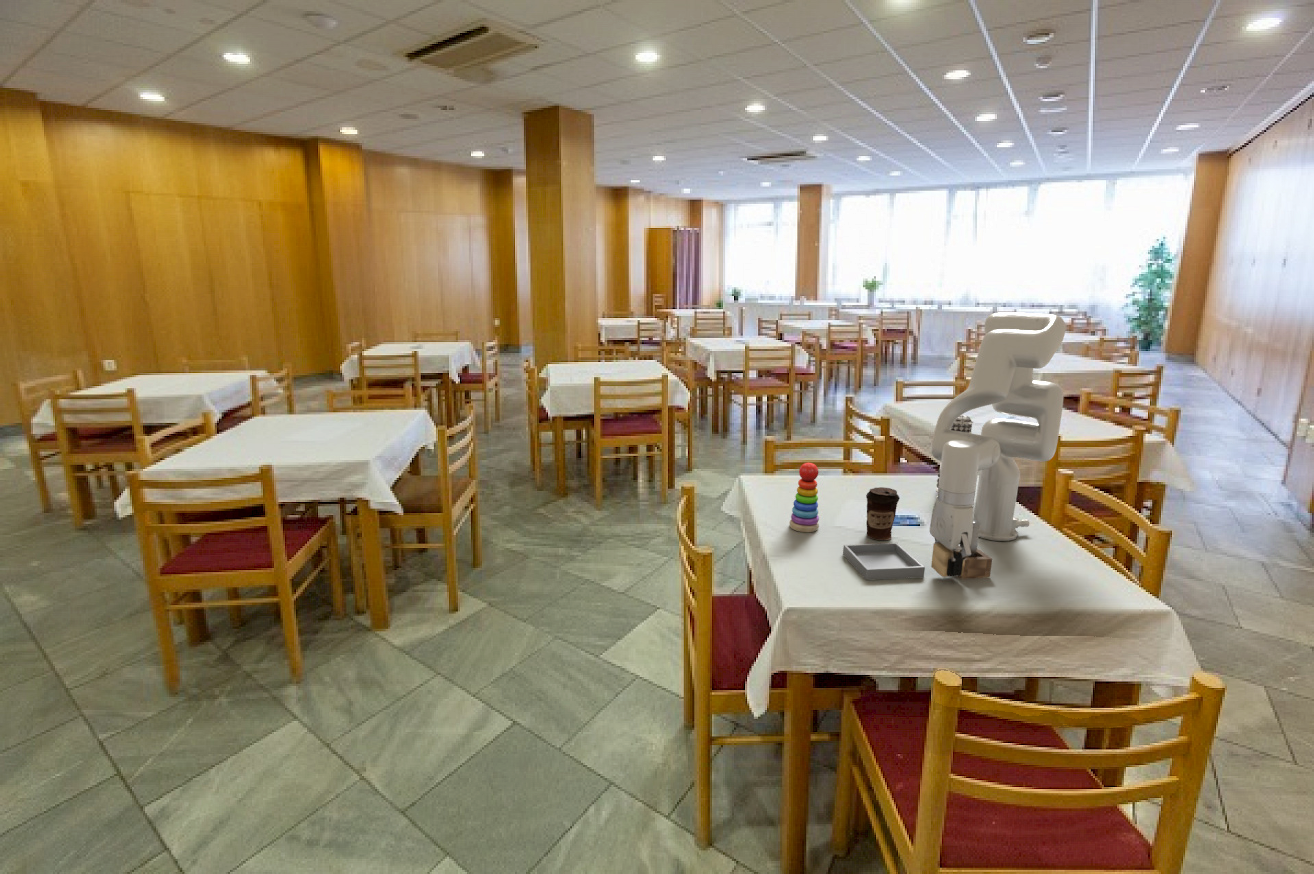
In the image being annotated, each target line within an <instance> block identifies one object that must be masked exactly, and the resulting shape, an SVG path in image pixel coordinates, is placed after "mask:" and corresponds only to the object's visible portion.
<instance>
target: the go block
mask: <svg viewBox="0 0 1314 874" xmlns="http://www.w3.org/2000/svg"><path fill="white" fill-rule="evenodd" d="M992 564H993V558H992V557H991V556H989V555H988V554H987V553H985V552H983V551H982V550H981V549H979V548H978V547H977V551H976V557H967V558H965V565H964V573H963V576H957V577H959V579H961V580H967V579H968V580H969V579H970V580H971V579H984V578H983V577H990V578H991V571H992Z"/></svg>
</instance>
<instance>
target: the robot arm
mask: <svg viewBox="0 0 1314 874" xmlns="http://www.w3.org/2000/svg"><path fill="white" fill-rule="evenodd" d="M984 332H985V335H984V336H983V338H982V340H981V342H980V346H979V350H978V352H977V356H976V360H975V363H974V365H973V366H974V367H973V370H972V374H971V377H970V381H969V384H968V387H967V388H966V389H965V390H964V391H963V392H961V393H959V394H958V395H957V396H955V397H954V398H953V399H951V400H950V401H949V403H947V404H946V406H945V407H944V408H943V410H941V412H940V414H939V416H938V418H937V421H936V425H935V428H934V431H933V434H932V438H931V444H930V452H931V455H932V457H933V458H934V459H936V460H937V461H940V462H941V463H940V464H941V469H940V468H939V469H940V473H939V474H940V478H939V477H938V478H939V487H938V492H937V496H936V497H935V501H934V504H933V509H932V511H931V512H932V513H931V519H930V527H929V532H930V535H931V536H932V537H933V538H934V543H941V544H943V545H944V546H945V547H947V548H948V549H950V557H951V559H949V560H948V568H947V575H948V577H958V576H960V575H961V573H962V565H963V561H964V560H965V558H967V557H968V556H971V550H970V545H971V540H972V532H973V520H976V521H979V522H980V530H979V537H978V538H981V539H985V540H990V541H996V542H1007V541H1008V542H1010V541H1013V540H1015V539H1017V538H1018V531H1017V529H1018V528H1019V527H1020V528H1024V527H1025V528H1027V527H1029V526H1030V521H1029V520H1028V519H1019V517H1017V516H1015V517H1014V515H1015V509H1016V503H1017V497H1018V489H1019V483H1020V477H1021V474H1020V473H1021V472H1020V469H1019V465H1018V464H1017V463H1016V461H1015V460H1014V458H1018V459H1022V460H1023V459H1025V460H1029V461H1035V462H1047V461H1050V460H1051V459H1052V458H1053V457H1054V456H1055V453H1056V451H1057V445H1058V441H1059V435H1060V434H1059V433H1060V427H1061V419H1062V413H1063V407H1064V391H1063V389H1062V387H1061V386H1060V385H1059V384H1058V383H1056V382H1051V381H1045V380H1035V379H1033V373H1034V369H1042V368H1044V367H1046V366H1047V365H1048V364H1049V363H1050V361H1052V358H1053V357H1054V355H1055V354H1056V352H1057V351H1058V349H1059V348H1060V346H1061V345H1062V343H1063V340H1064V339H1065V334H1066V322H1065V321H1064V319H1063V318H1062V317H1061V316H1059V315H1057V314H1049V313H1027V312H1016V311H1013V312H1012V311H1009V312H1007V311H1006V312H1005V311H1004V312H995V313H991V314H990V315H988V316H987V318H986V319H985V321H984ZM990 405H991V406H992V408H993V410H994V411H995V412H997V413H999V414H1002V415H1008V416H1014V417H1019V418H1020V417H1021V418H1029V419H1034V420H1036V421H1037V422H1030V421H1023V420H1016V419H1012V418H1011V419H1010V418H1002V417H1000V418H998V417H996V418H992V419H989V420H987V421H986V422H985V423H984V424H983V426H982V428H981V432H980V434H977V433H966V432H960V431H953V430H951V427H952V425H953V423H954V422H955V420H956V419H957V418H958V417H959V416H961V415H964V414H965V413H967V412H969V411H973V410H975V409H978V408H981V407H985V406H990ZM978 473H979V475H978ZM977 483H978V484H977ZM976 490H977V491H976ZM974 503H975V504H974ZM973 506H974V507H973ZM958 545H959V546H958ZM955 550H960V553H957V554H956V555H955Z"/></svg>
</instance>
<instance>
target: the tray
mask: <svg viewBox="0 0 1314 874" xmlns="http://www.w3.org/2000/svg"><path fill="white" fill-rule="evenodd" d="M842 547H843V548H842V549H843V550H842V556H844V557H845V558H846V560H847V561H848V562H849V563H850V565H852V566H853V567H854V569H856V570H857V572H858V573H859V574H860V575H861V576H862V578H863V579H864V580H865V581H873V580H872V579H878V580H896V579H916V578H917V579H918V578H924V577H925V571H926V567H925V566H924V565H923V564H922V563H921V562H919V561H918V560H917V559H916V558H915V557H914V556H913V555H912V554H910V552H908V551H907V549H905V548H904V547H903V546H901V545H900V544H899V543H898V542H887V543H886V542H883V543H881V542H880V543H860V544H859V543H858V544H857V543H855V544H843V546H842Z"/></svg>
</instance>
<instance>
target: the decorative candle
mask: <svg viewBox="0 0 1314 874" xmlns="http://www.w3.org/2000/svg"><path fill="white" fill-rule="evenodd" d="M973 424H974V421H973V420H972V419H971V417H970V416H968V415H964V414H962V415H961V416H959V417H958V418H957V419H956V420H955V422H954V423H953V425H952V427H951V430H953V431H960V432H966V433H972V432H973V431H972V428H973ZM972 434H973V433H972ZM939 465H940V467H939V469H938V474H937V479H936V490H935V491H936V492H937V493H938V487H939V478H940V469H941V463H940V464H939Z"/></svg>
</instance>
